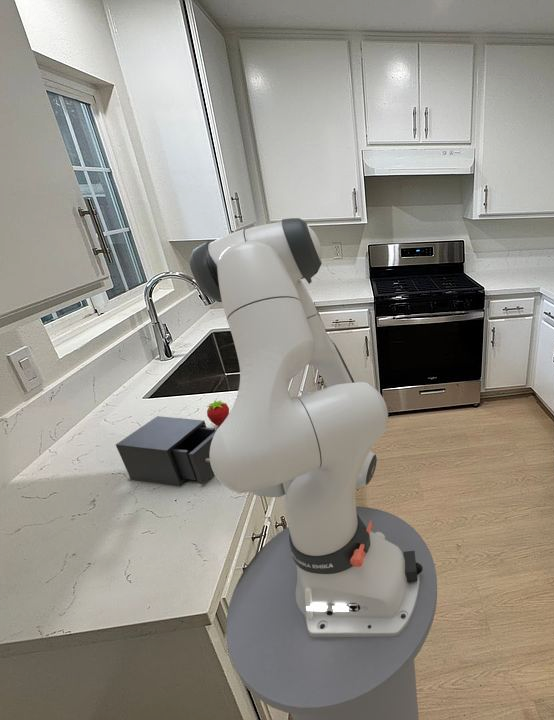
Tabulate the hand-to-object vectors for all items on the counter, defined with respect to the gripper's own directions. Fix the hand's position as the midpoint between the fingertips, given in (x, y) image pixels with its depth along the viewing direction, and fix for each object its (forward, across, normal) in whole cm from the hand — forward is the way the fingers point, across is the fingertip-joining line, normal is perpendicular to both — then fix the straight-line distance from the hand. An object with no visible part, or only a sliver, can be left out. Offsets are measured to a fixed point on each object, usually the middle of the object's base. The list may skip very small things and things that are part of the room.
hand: (255, 456), depth 93 cm
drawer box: (+25, 0, +6) cm, 26 cm away
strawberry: (+24, -18, +6) cm, 31 cm away
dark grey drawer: (+16, 0, +5) cm, 17 cm away
